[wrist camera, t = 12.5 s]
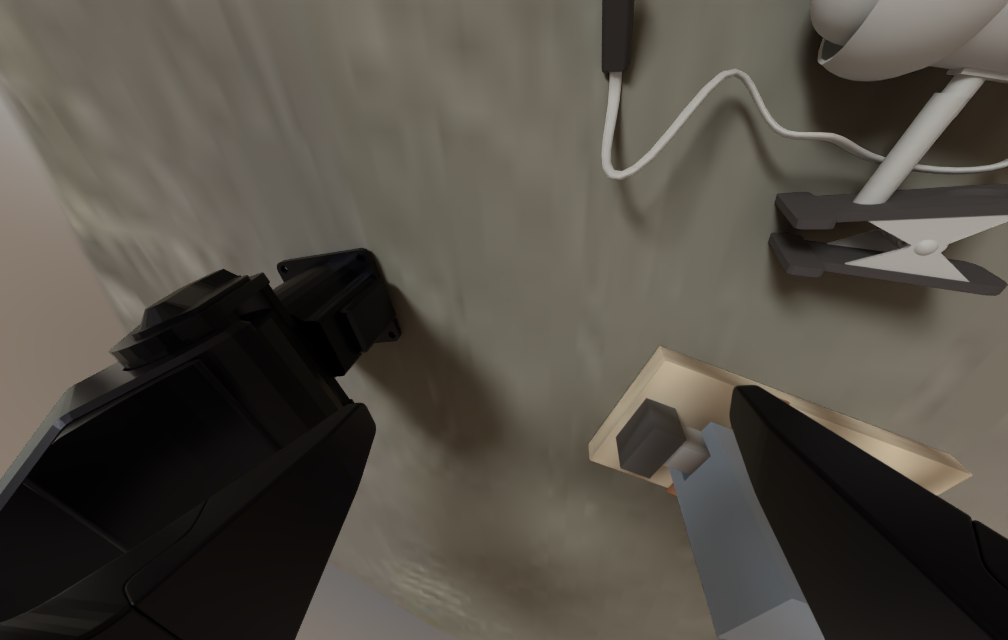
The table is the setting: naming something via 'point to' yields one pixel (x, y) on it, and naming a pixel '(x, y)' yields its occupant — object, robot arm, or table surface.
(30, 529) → the robot arm
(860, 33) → the clip-on lamp
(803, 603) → the pale blue rectangular block
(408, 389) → the table surface
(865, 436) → the rail
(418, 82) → the table surface
